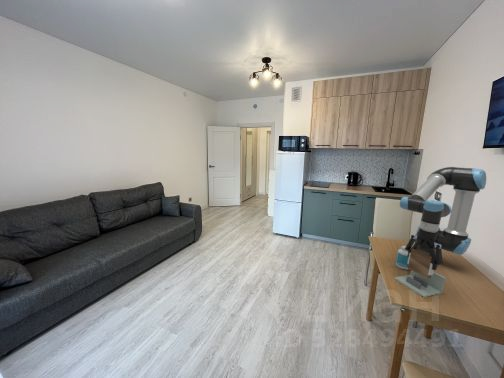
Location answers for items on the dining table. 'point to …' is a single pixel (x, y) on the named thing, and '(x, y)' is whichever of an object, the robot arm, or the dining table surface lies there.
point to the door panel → (420, 262)
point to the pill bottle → (402, 258)
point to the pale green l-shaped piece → (423, 283)
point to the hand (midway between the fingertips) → (419, 269)
